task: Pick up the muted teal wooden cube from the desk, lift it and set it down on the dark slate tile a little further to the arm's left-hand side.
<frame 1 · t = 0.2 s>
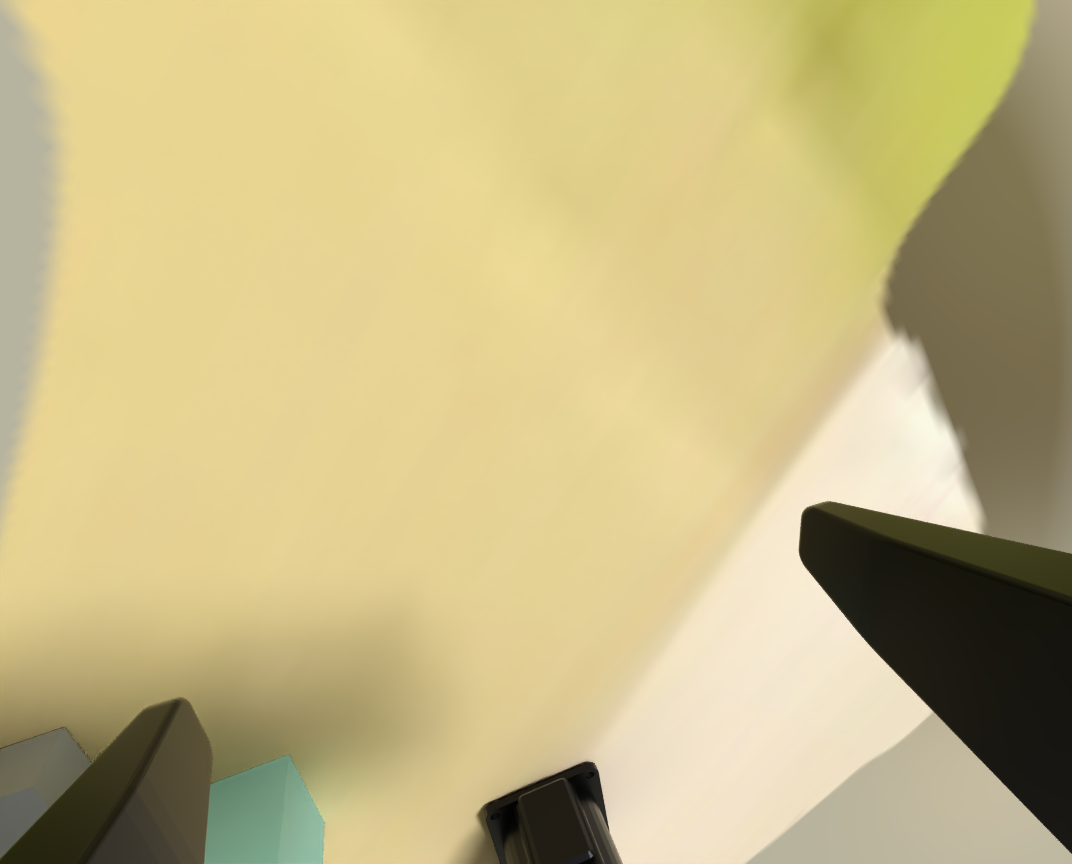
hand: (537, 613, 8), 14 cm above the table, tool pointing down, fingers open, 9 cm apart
cube: (251, 809, 26), on the table
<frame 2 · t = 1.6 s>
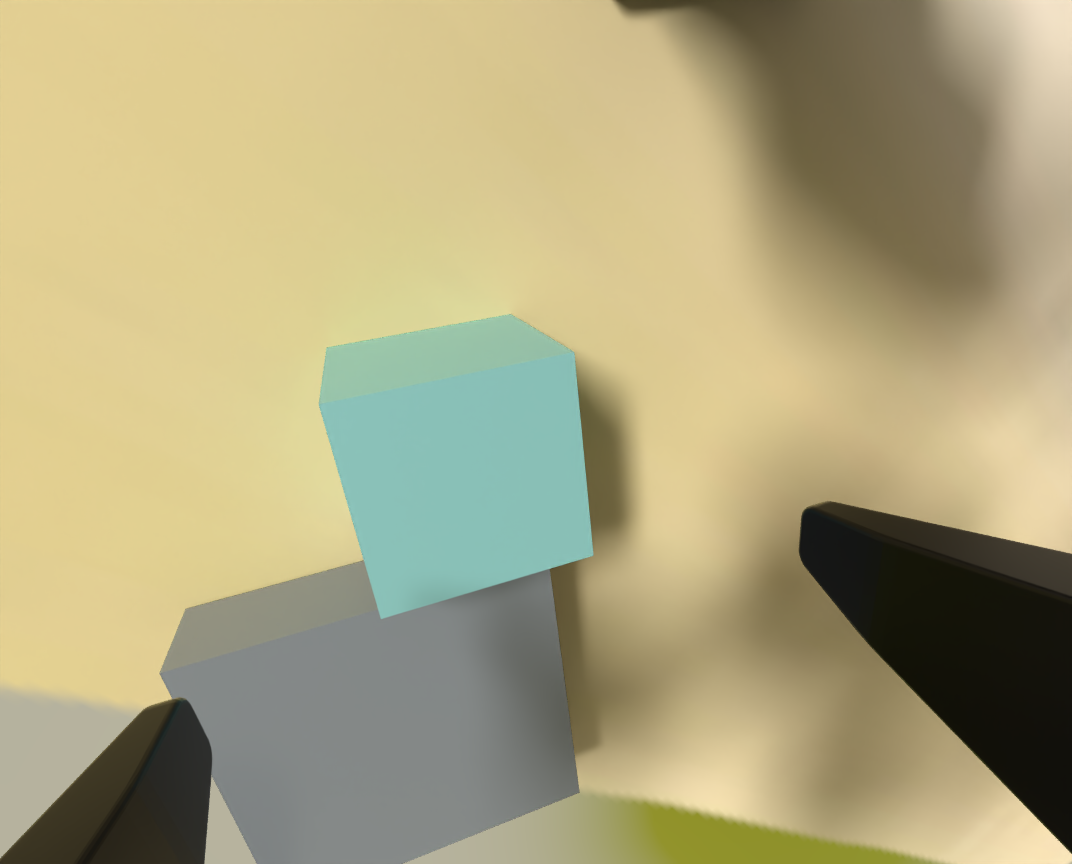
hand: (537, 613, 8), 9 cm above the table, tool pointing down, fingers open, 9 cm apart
cube: (438, 414, 16), on the table
tile: (401, 682, 19), on the table
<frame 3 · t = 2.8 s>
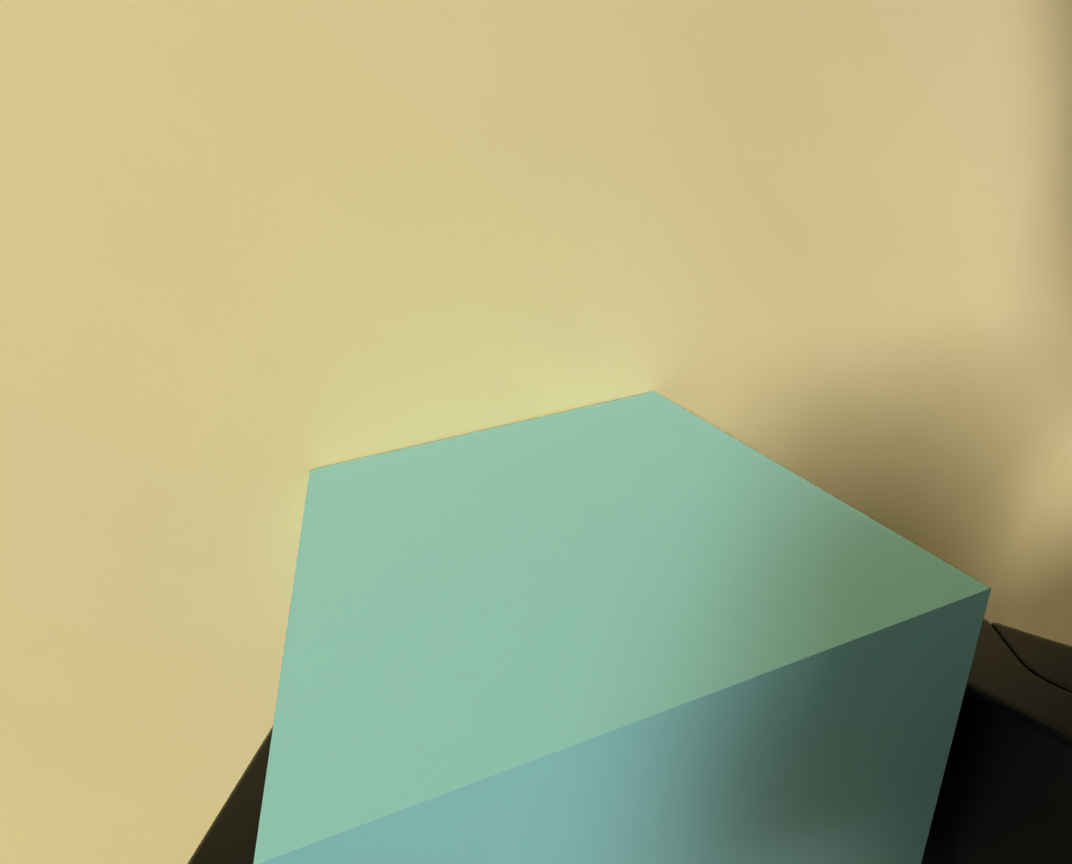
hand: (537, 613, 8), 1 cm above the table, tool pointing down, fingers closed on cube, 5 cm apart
cube: (517, 571, 9), on the table, touching gripper
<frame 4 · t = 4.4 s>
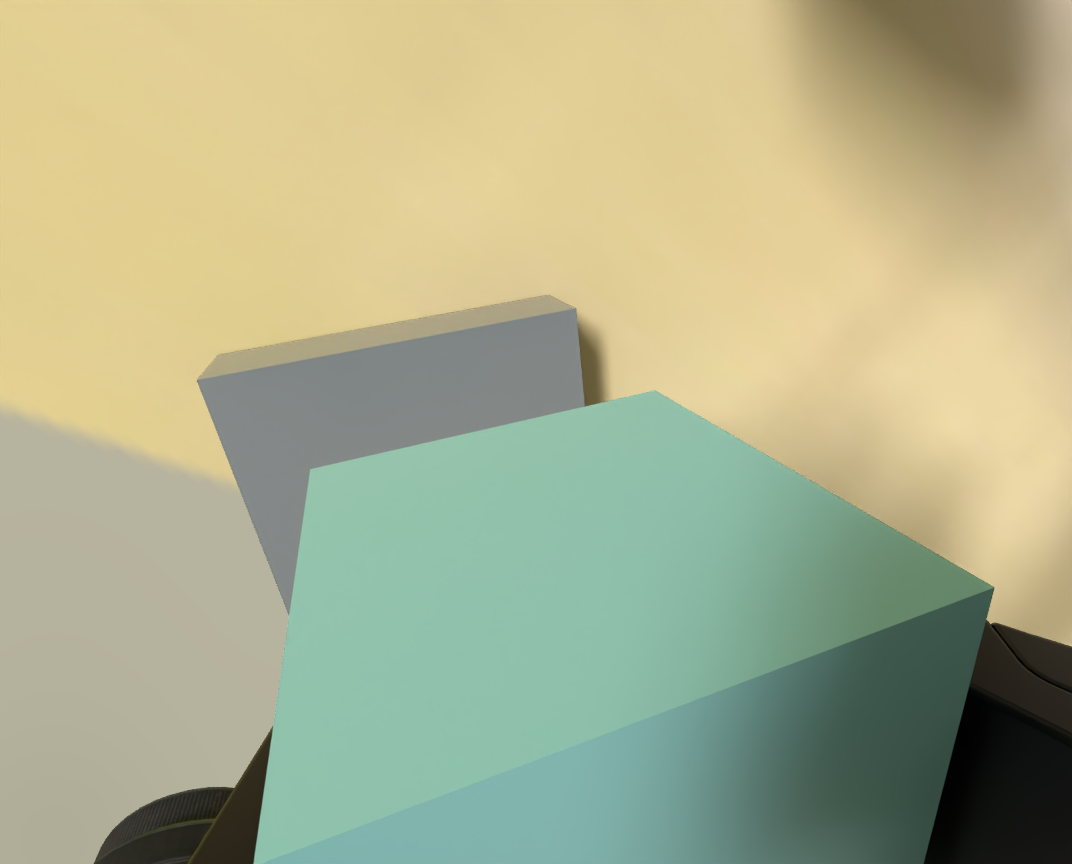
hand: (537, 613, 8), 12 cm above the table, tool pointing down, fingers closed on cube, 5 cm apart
camera lens: (199, 840, 23), on the table
cube: (518, 571, 9), point 11 cm above the table, touching gripper
tile: (426, 466, 19), on the table
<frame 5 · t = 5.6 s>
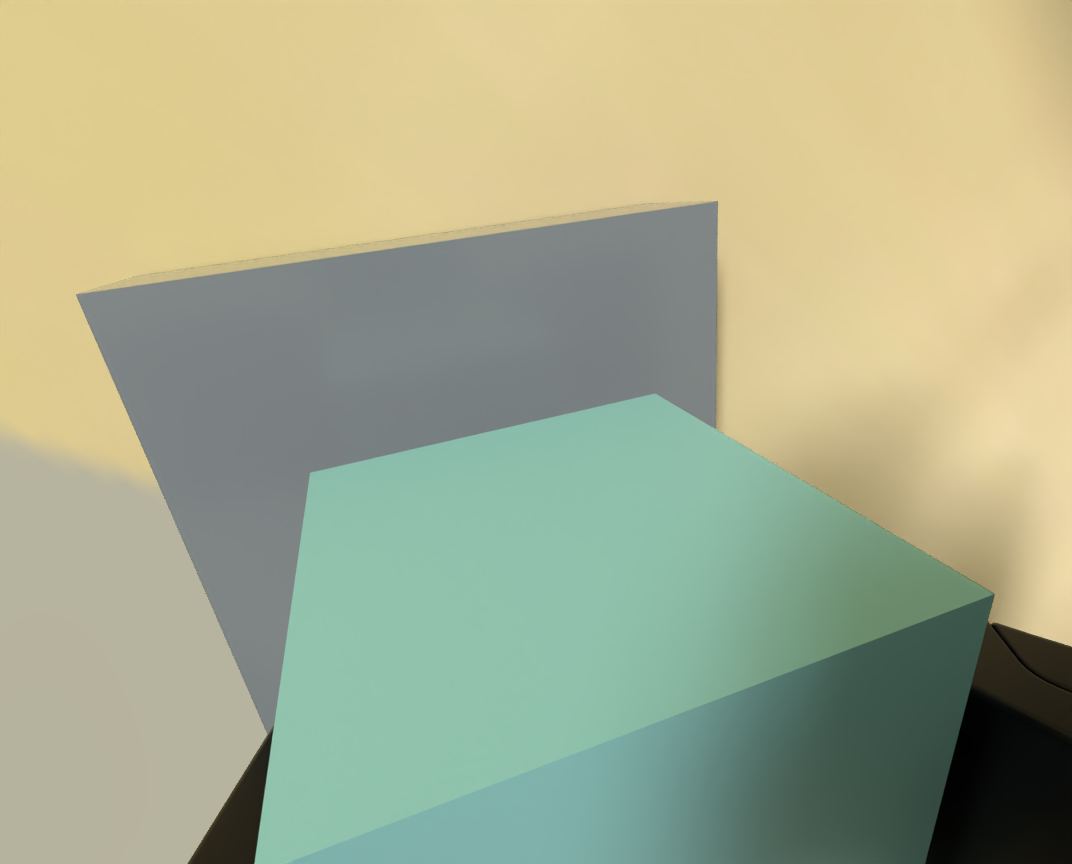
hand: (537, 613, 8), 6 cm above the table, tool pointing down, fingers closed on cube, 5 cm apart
cube: (518, 574, 9), point 5 cm above the table, touching gripper
tile: (463, 462, 13), on the table
when the fingers open (4 cm above the table, at t = 6.2 s): cube stays where it is, resting on tile.
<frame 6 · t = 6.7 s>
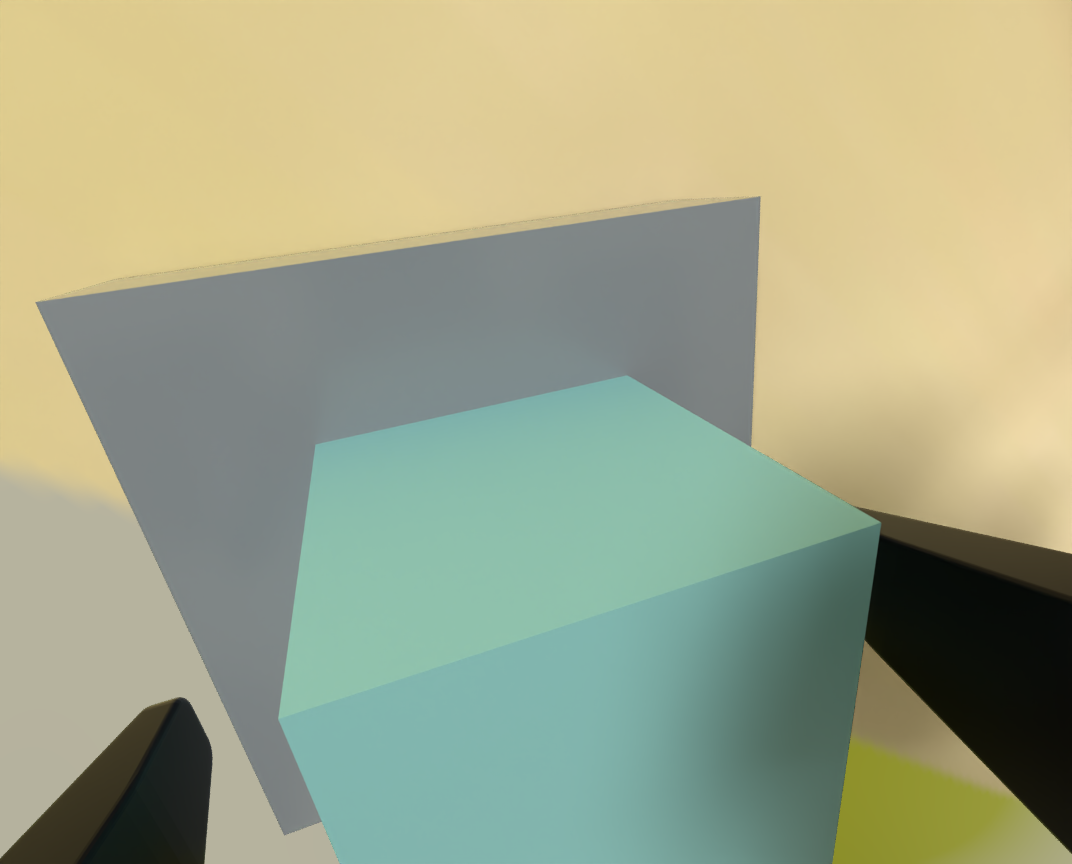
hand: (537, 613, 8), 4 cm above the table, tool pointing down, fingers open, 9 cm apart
cube: (504, 541, 10), point 2 cm above the table, touching tile
tile: (473, 481, 12), on the table
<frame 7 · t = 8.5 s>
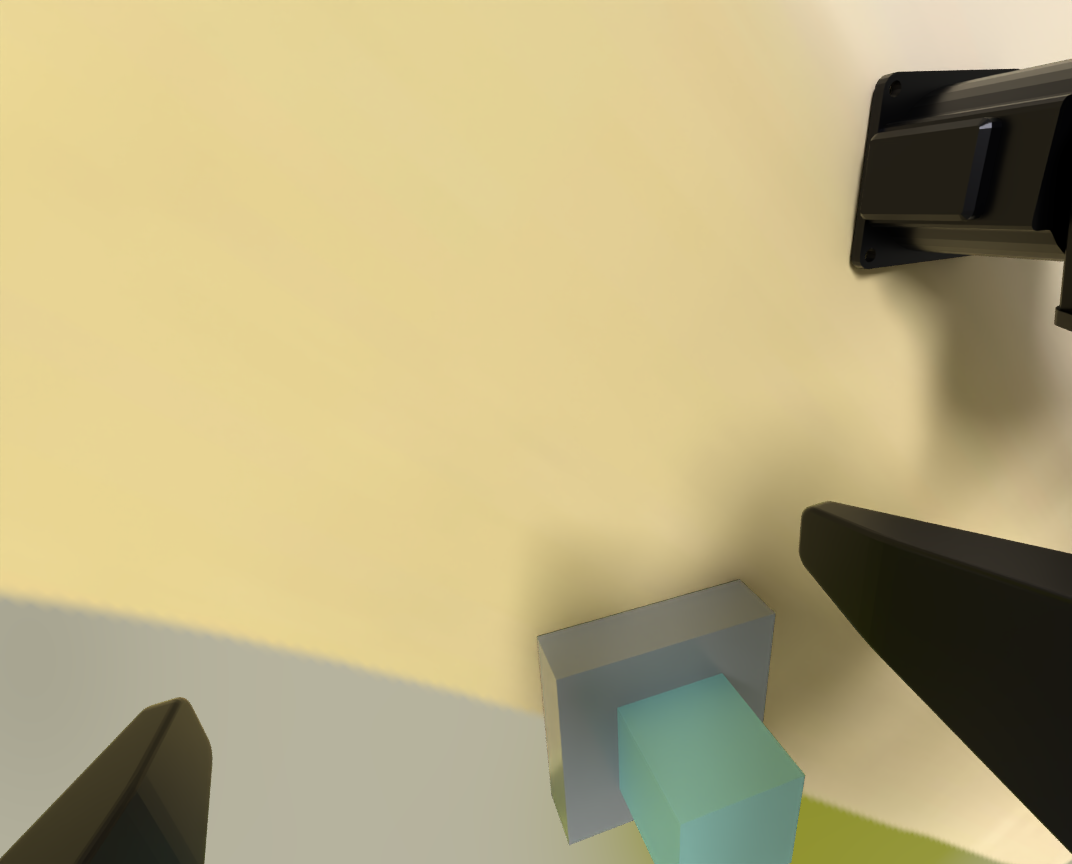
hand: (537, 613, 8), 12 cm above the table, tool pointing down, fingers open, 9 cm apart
cube: (670, 731, 25), point 2 cm above the table, touching tile
tile: (643, 689, 27), on the table
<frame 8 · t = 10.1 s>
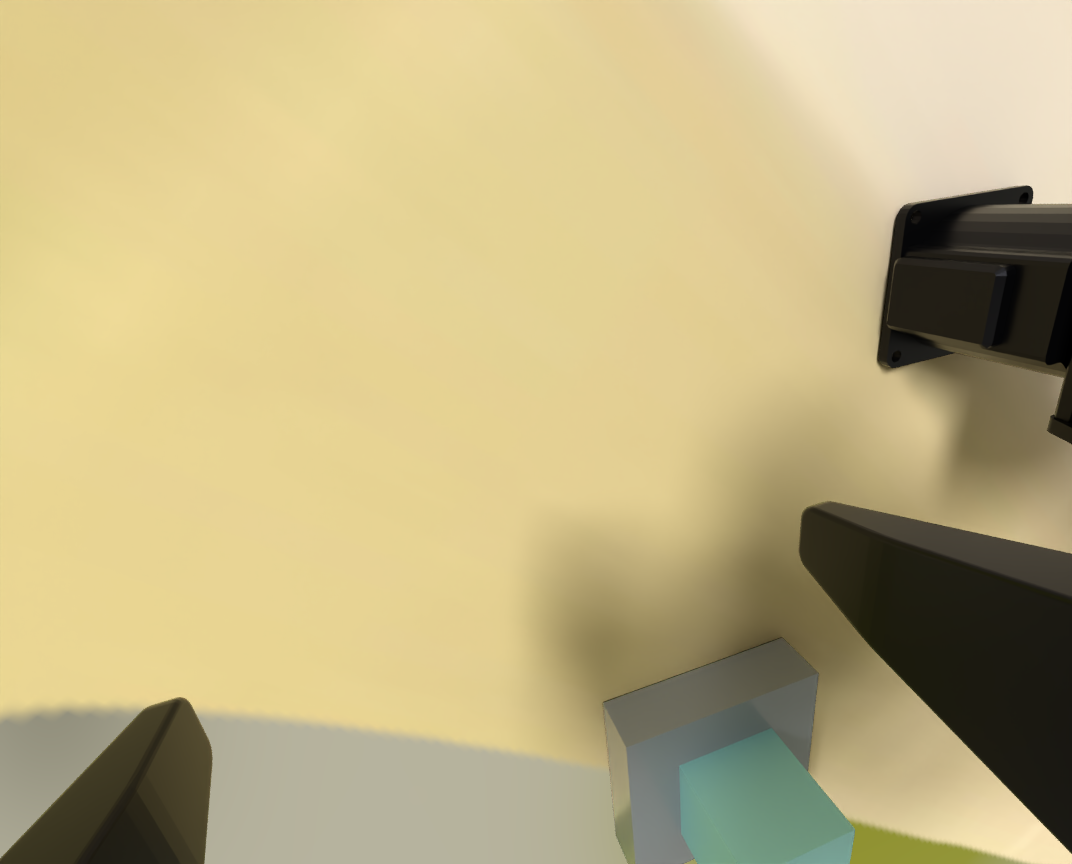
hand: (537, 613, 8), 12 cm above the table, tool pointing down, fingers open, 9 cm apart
cube: (725, 781, 27), point 2 cm above the table, touching tile
tile: (696, 739, 30), on the table
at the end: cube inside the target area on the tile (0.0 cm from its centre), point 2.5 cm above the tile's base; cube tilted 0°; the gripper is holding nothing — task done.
